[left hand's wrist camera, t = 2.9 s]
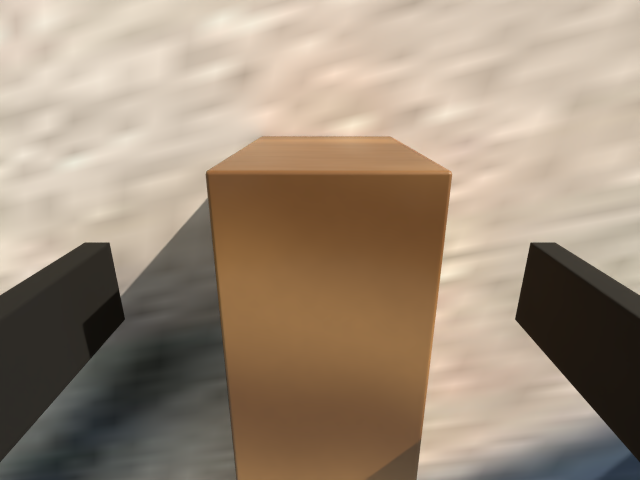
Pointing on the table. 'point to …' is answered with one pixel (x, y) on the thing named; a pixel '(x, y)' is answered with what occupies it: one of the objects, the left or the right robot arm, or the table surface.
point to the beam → (327, 303)
